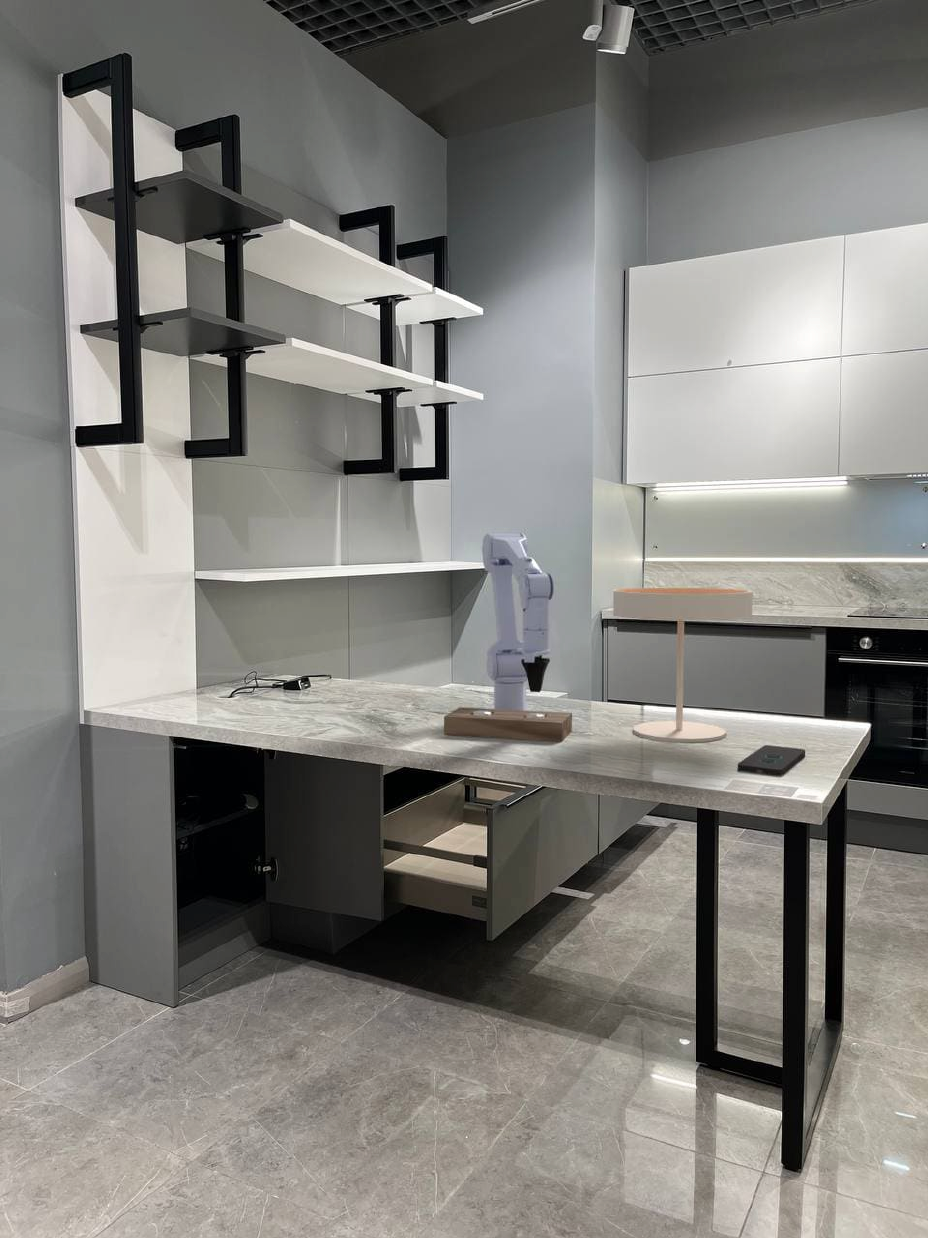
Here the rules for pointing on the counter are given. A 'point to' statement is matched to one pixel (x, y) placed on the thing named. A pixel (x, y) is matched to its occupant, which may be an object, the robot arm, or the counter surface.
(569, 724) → the wooden peg board
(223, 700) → the counter surface
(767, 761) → the smart home device
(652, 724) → the desk lamp
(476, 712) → the peg
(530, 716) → the peg
